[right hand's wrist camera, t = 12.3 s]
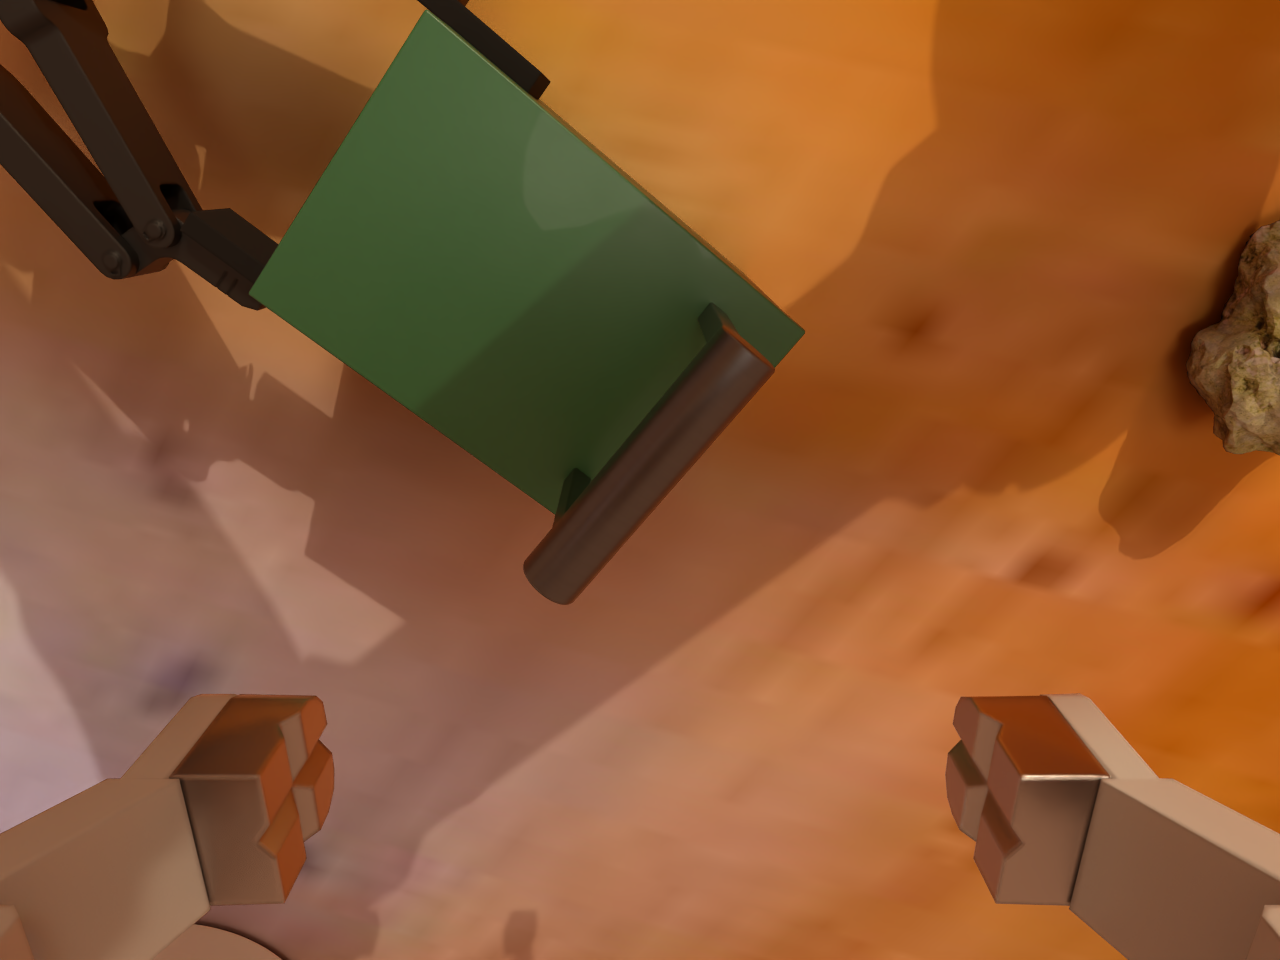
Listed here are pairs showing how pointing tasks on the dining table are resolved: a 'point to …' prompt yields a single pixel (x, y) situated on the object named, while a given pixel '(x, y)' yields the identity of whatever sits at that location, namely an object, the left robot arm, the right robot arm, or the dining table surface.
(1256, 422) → the rock
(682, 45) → the dining table surface
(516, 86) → the lid
